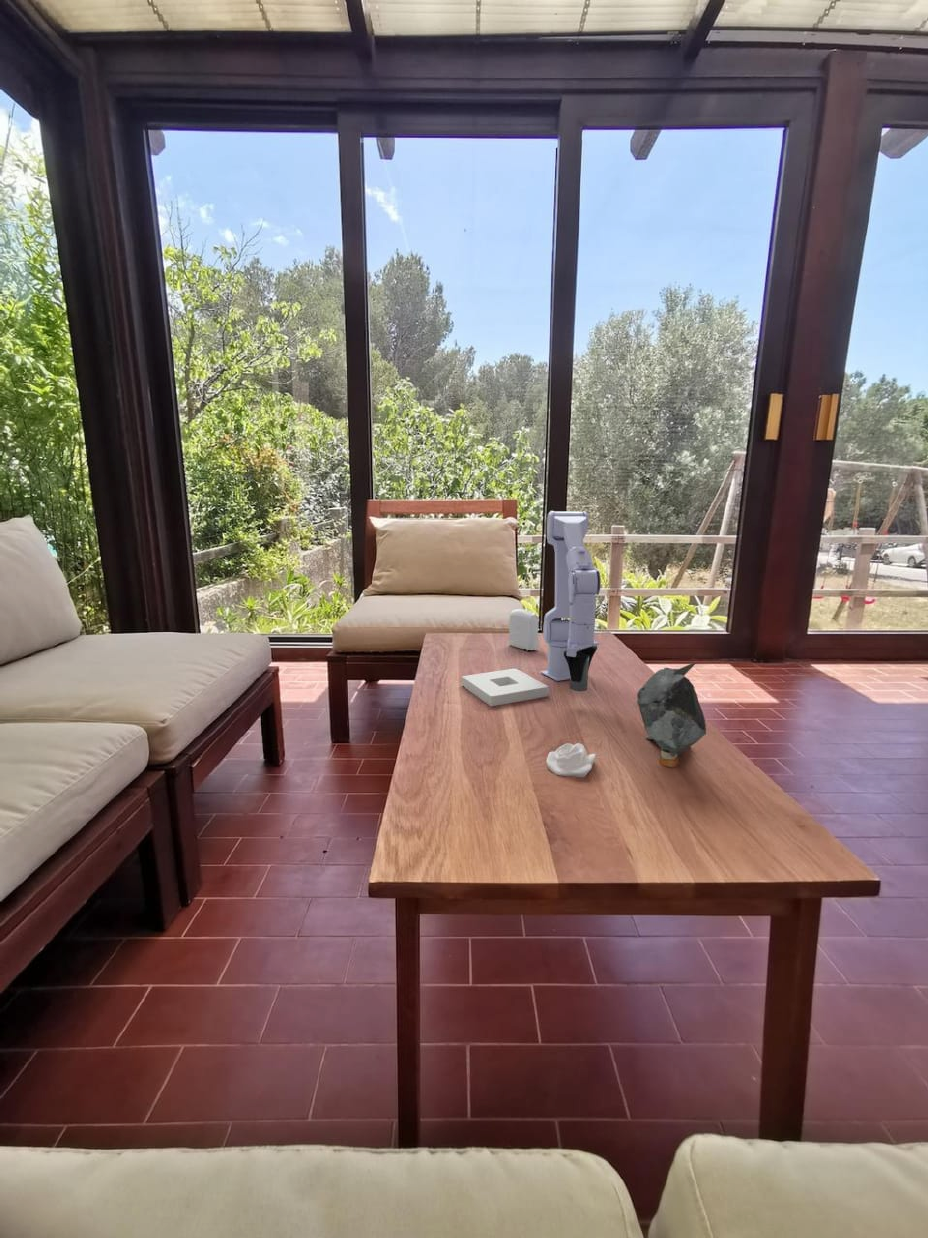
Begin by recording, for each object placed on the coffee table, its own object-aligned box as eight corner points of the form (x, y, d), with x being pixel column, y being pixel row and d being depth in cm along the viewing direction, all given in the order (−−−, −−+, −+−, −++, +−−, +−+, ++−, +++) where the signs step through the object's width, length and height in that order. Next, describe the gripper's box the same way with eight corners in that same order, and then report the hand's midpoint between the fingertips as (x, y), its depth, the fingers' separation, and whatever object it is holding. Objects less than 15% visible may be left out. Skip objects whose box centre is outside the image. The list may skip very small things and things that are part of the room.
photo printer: (506, 645, 191) (507, 607, 188) (516, 643, 194) (517, 606, 191) (529, 652, 183) (531, 613, 180) (539, 650, 186) (540, 611, 183)
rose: (611, 752, 107) (563, 761, 103) (609, 775, 108) (562, 784, 104) (581, 731, 116) (537, 738, 113) (580, 752, 117) (536, 759, 114)
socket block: (515, 677, 160) (515, 668, 160) (548, 696, 146) (548, 686, 146) (461, 685, 153) (461, 676, 153) (490, 706, 139) (491, 696, 139)
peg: (580, 684, 142) (582, 652, 140) (590, 689, 139) (592, 657, 137) (566, 686, 140) (568, 654, 138) (576, 692, 137) (578, 659, 135)
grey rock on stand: (613, 758, 114) (619, 668, 110) (652, 734, 124) (659, 652, 120) (685, 784, 104) (695, 687, 100) (720, 756, 115) (730, 667, 111)
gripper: (590, 631, 128) (586, 690, 131) (607, 617, 140) (604, 672, 143) (558, 627, 131) (556, 685, 134) (579, 614, 143) (576, 667, 146)
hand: (579, 678), depth 139 cm, fingers closed on peg, 4 cm apart
